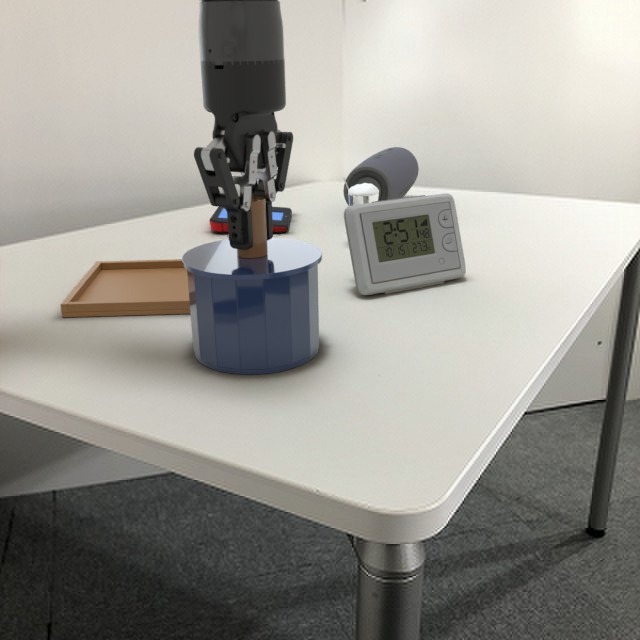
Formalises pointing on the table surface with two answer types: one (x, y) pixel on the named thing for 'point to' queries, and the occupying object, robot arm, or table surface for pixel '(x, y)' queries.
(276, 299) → the pot
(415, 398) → the table surface
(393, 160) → the bluetooth speaker
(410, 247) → the digital clock
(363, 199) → the milkshake
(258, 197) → the pot lid
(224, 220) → the game console
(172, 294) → the wooden tray
